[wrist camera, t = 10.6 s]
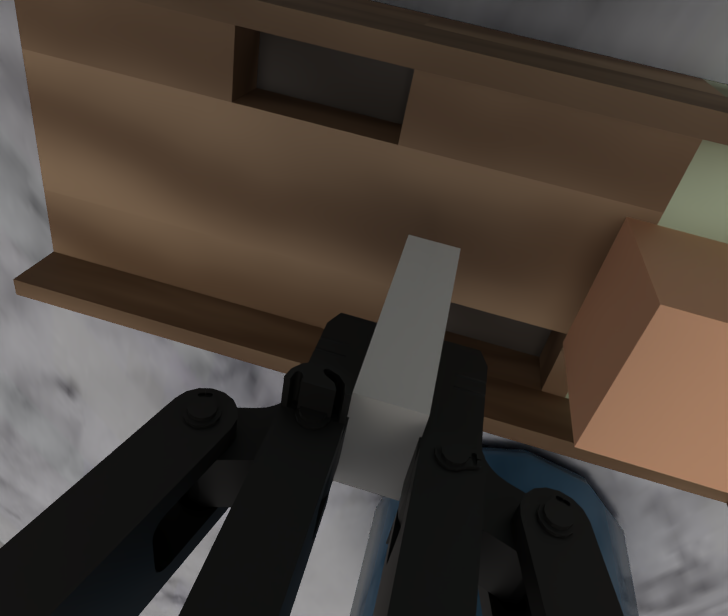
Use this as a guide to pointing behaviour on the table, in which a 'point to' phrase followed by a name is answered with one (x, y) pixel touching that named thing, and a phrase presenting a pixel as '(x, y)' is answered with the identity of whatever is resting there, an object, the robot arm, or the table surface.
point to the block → (654, 355)
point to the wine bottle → (525, 476)
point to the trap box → (354, 178)
